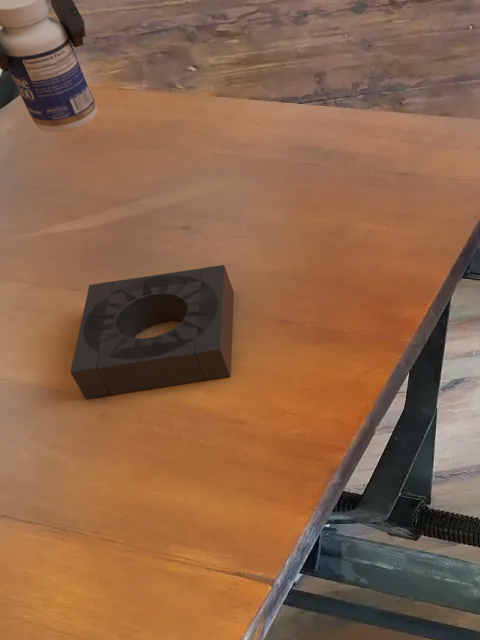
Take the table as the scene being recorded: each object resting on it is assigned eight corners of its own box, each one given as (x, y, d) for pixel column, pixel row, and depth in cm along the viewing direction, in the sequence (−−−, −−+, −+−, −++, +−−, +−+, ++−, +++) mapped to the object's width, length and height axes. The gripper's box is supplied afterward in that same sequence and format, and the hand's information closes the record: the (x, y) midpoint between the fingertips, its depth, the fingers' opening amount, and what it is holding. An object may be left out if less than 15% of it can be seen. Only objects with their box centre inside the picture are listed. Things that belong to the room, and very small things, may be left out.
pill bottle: (31, 115, 78) (-26, -5, 70) (92, 98, 79) (44, -21, 72) (41, 141, 75) (-17, 18, 67) (105, 123, 76) (55, 1, 68)
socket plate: (85, 399, 74) (70, 372, 71) (102, 311, 81) (89, 284, 79) (230, 376, 74) (220, 349, 72) (233, 291, 82) (224, 264, 80)
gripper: (-192, -173, 62) (-59, 57, 65) (12, -214, 68) (128, 1, 70) (-160, -103, 69) (-41, 102, 72) (23, -144, 74) (128, 49, 77)
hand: (42, 51), depth 71 cm, fingers closed on pill bottle, 5 cm apart
